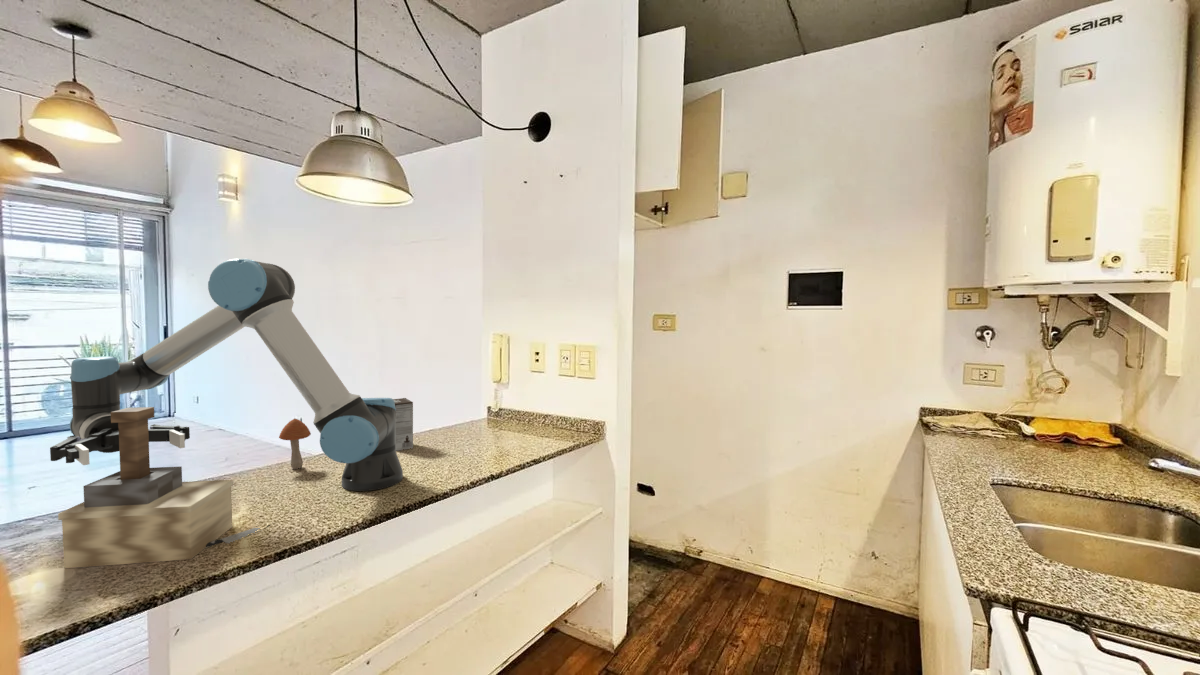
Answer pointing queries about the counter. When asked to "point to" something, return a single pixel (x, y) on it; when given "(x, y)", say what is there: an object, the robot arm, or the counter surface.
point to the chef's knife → (233, 537)
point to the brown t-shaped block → (133, 441)
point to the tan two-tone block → (145, 519)
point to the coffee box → (403, 424)
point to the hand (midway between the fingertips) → (137, 448)
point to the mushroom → (295, 439)
